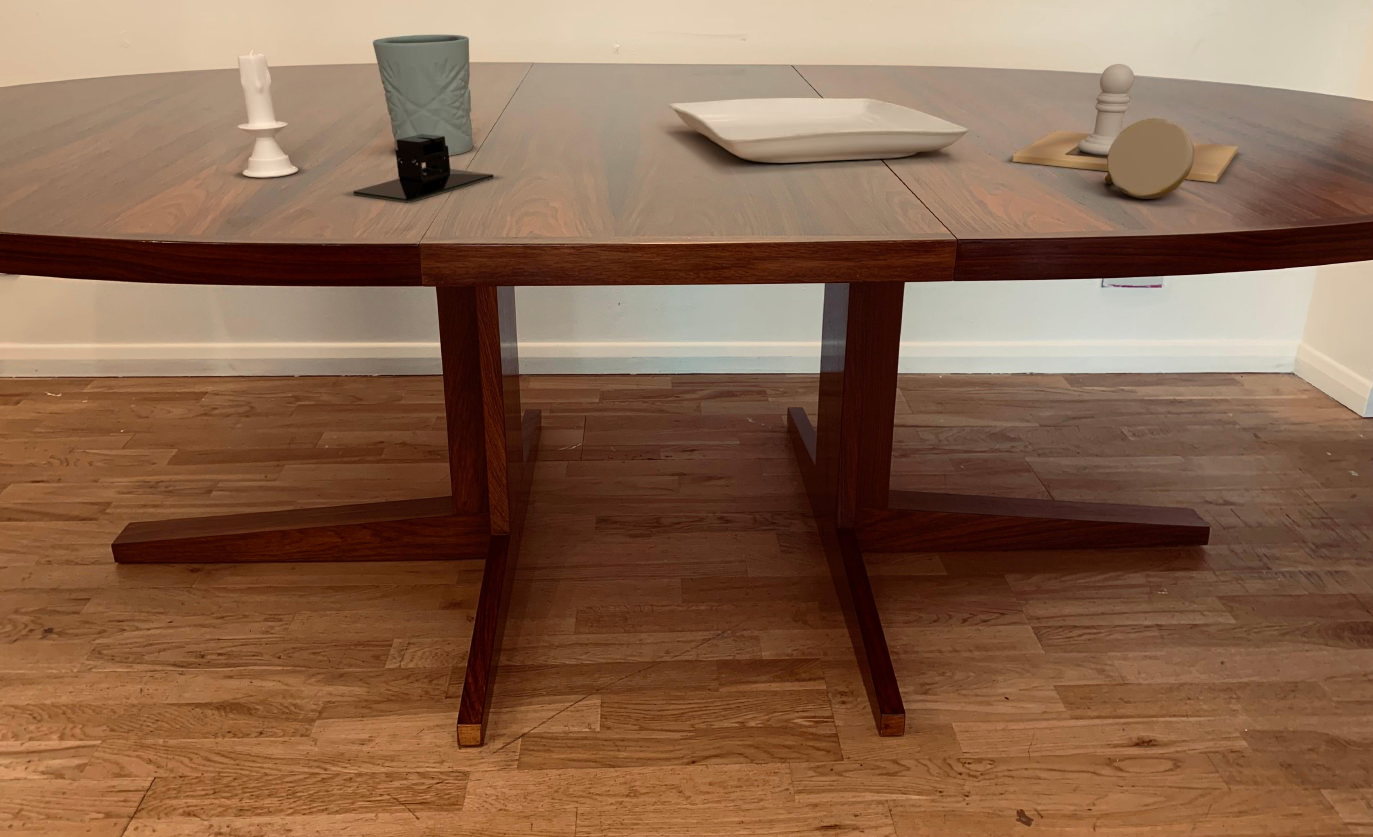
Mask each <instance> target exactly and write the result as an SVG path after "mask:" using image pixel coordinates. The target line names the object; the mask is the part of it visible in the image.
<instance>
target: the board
mask: <svg viewBox="0 0 1373 837" xmlns="http://www.w3.org/2000/svg"><path fill="white" fill-rule="evenodd" d="M1091 134H1092V133H1086V132H1075V131H1064V130H1054V131H1052V132H1050V133H1049V134H1047V135H1045V136H1044V137H1042V138H1040V139H1038V140H1036V141H1034V142H1033V143H1031V144H1029V145H1027V146H1025V147H1024V148H1022V149H1020V150H1018V151H1017V152H1015V153H1014V154H1012V159H1011V160H1012V161H1011V162H1013V163H1021V164H1029V165H1042V166H1051V167H1061V168H1069V169H1078V170H1079V169H1080V170H1088V171H1097V172H1107V173H1109V170H1108V164H1107V160H1108V155H1095V154H1089V153H1085V152H1082V151H1080V150H1079V148H1078V144H1079V142H1080V141H1081V140H1084V139H1085V138H1086V137H1087V136H1090V135H1091ZM1192 143H1193V146H1194V161H1193V165H1192V168H1191V170H1190V173H1189V175H1188V176H1187V177H1186V179H1185V180H1188V181H1195V182H1196V181H1197V182H1206V183H1217V182H1218V180H1219V179H1220V177H1221V176H1222V174H1223V173H1224V172H1225V170H1226V169H1227V168H1228V166H1229V165H1230V163H1231V161H1233V159H1234V158H1235V156H1236V154H1237V152H1238V149H1239V146H1237V145H1226V144H1216V143H1203V142H1193V141H1192Z"/></svg>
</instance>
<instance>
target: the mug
mask: <svg viewBox="0 0 1373 837" xmlns="http://www.w3.org/2000/svg"><path fill="white" fill-rule="evenodd" d="M1192 142H1193V141H1192V138H1191V136H1190V134H1189V133H1188V131H1187V130H1186V129H1185V128H1183V126H1181V125H1179V124H1178V123H1176V122H1174V121H1172V120H1169V119H1164V118H1156V117H1155V118H1147V119H1142V120H1139V121H1137V122H1134V123H1132V124H1130V125H1129V126H1127V127H1126V128H1124V129H1123V130H1121V133H1120V134H1119V135H1118V136H1117V137H1116V139H1115V140H1114V141H1113V143H1112V145H1111V147H1110V150H1109V153H1108V160H1107V164H1108V170H1109V172H1107V174H1106V175H1105V176H1104V182H1105V183H1106V184H1107V185H1111V184H1113V185H1114V186H1116V188H1118V189H1119V190H1120V191H1121V192H1122V193H1123V194H1126V195H1128V196H1130V197H1132V198H1136V199H1141V200H1149V199H1157V198H1162V197H1164V196H1166V195H1168V194H1170V193H1172V192H1173V191H1175V190H1176V189H1178V188H1179V187H1180V186H1181V185H1182V184H1183V183H1184V182H1185V180H1186V177H1187V176H1188V175H1189V173H1190V170H1191V168H1192V165H1193V161H1194V146H1193V143H1194V142H1193V143H1192Z"/></svg>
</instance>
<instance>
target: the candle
mask: <svg viewBox="0 0 1373 837" xmlns="http://www.w3.org/2000/svg"><path fill="white" fill-rule="evenodd" d="M254 51H255V48H253V49H251V51H249V54H248V53H247V54H241V55H238V56H237V62H238V64H237V65H238V70H239V74H240V75H239V76H240V78H239V79H240V86H241V88H242V94H243V98H244V104H245V110H246V116H247V121H248V122H245V123H240V124H239V125H237V128H238V129H239V130H241V131H244V132H245V133H248V134H249V135H251V136H253V137H255V138H254V139H255V141H254V147H253V149H252V150H253V151H252V154H251V156H249V157H248V158H247V159H248V160H247V168H246V169H243V171H242V175H243V176H245V177H249V178H259V179H260V178H261V179H262V178H277V177H284V176H289V175H293V174H295V173H297V172H298V171H299V168H298V167H297V166H295V165H292V162H291V160H290V158H289V155H288V154H286V153H284V152H283V150H282V148H281V146H280V145H279V144H278V142H277V140H276V137H275V135H277V134H278V133H279V132H281V131H282V130H283V129H284V128H286V127H287V126H288V125H289V124H288V122H285V121H279V120H276V115H275V114H276V113H275V109H274V104H273V102H274V101H273V98H272V90H271V88H272V84H273V80H272V76H271V73H270V70H269V67H268V62H267V58H266V56H265V54H264V53H257V54H256V53H255V54H254V53H253V52H254Z"/></svg>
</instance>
